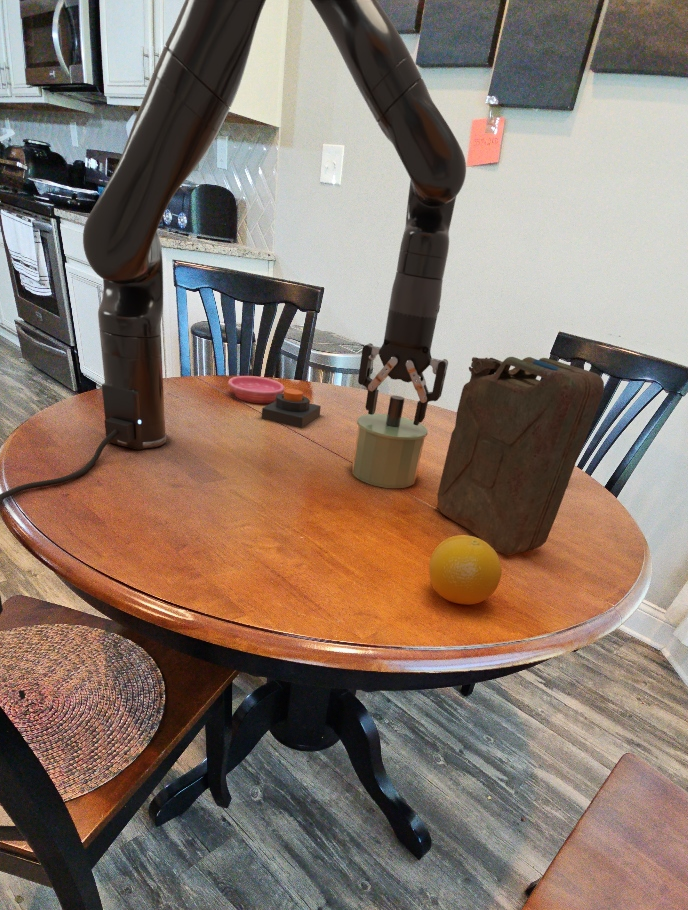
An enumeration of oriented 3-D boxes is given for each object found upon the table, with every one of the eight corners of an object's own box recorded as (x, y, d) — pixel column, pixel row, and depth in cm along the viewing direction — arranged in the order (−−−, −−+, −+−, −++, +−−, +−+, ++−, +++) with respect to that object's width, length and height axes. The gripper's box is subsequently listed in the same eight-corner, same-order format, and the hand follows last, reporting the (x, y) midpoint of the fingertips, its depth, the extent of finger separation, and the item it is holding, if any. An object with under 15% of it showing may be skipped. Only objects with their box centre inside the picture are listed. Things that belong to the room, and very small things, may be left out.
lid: (418, 449, 95) (425, 413, 91) (347, 432, 97) (352, 397, 93) (432, 430, 104) (439, 397, 101) (367, 415, 106) (372, 382, 103)
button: (298, 404, 121) (298, 395, 120) (280, 399, 122) (280, 391, 121) (305, 400, 125) (305, 391, 124) (287, 396, 125) (288, 387, 124)
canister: (547, 553, 88) (615, 378, 74) (508, 562, 84) (571, 378, 69) (465, 502, 100) (510, 342, 86) (428, 507, 96) (467, 340, 82)
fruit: (477, 581, 78) (495, 527, 74) (500, 616, 72) (520, 559, 67) (415, 579, 77) (428, 523, 72) (432, 614, 70) (448, 556, 66)
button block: (301, 428, 120) (303, 408, 118) (261, 418, 122) (262, 398, 120) (319, 416, 129) (321, 397, 127) (282, 407, 131) (283, 388, 128)
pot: (406, 493, 100) (417, 444, 95) (343, 477, 102) (350, 428, 97) (420, 473, 109) (430, 427, 104) (362, 458, 111) (369, 412, 106)
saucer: (286, 408, 130) (287, 393, 129) (229, 403, 128) (229, 388, 126) (280, 392, 140) (281, 378, 138) (227, 387, 137) (227, 373, 135)
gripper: (362, 303, 88) (347, 414, 98) (455, 321, 85) (430, 434, 95) (375, 299, 94) (360, 405, 103) (462, 316, 91) (438, 422, 101)
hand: (393, 418), depth 99 cm, fingers open, 7 cm apart
